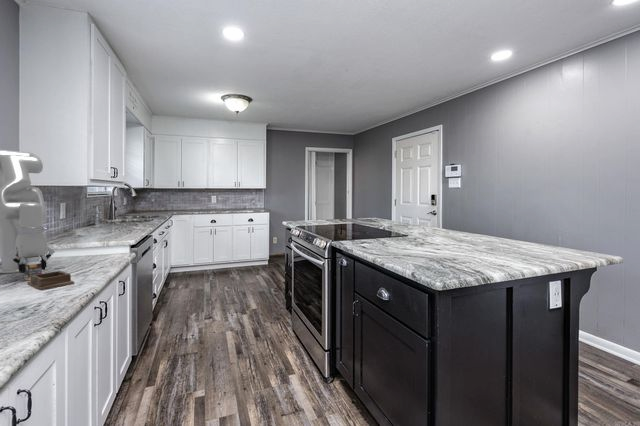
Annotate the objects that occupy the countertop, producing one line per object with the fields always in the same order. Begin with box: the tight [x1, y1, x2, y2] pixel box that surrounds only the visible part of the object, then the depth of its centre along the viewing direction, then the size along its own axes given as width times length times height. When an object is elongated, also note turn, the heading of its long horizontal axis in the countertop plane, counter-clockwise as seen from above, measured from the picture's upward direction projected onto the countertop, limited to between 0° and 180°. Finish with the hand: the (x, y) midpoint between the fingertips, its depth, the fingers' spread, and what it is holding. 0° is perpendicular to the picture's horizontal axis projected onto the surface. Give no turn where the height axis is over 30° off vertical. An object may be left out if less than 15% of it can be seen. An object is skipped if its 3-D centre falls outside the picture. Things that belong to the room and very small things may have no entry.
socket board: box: [27, 270, 75, 291], centre depth 130 cm, size 14×11×4 cm
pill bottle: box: [23, 256, 43, 281], centre depth 137 cm, size 6×6×10 cm
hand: (32, 270), depth 137 cm, fingers open, 6 cm apart
